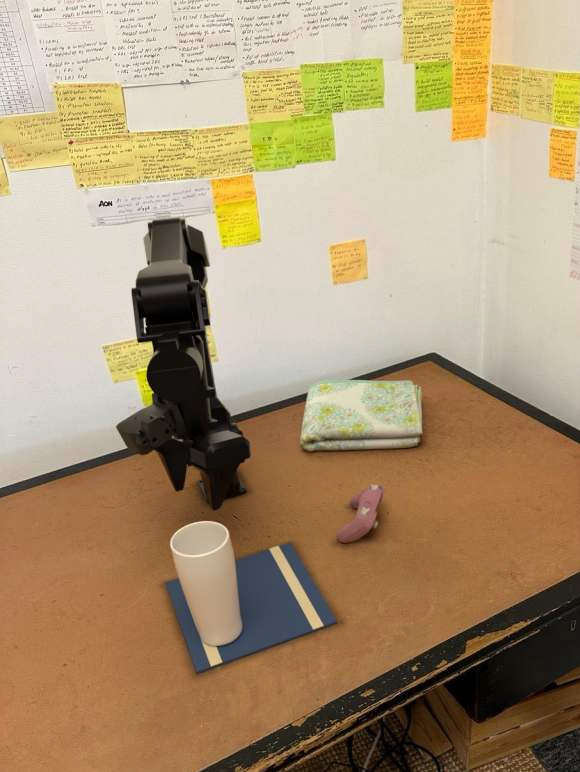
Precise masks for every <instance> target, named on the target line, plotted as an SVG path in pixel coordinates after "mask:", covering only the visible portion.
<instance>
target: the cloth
mask: <svg viewBox="0 0 580 772" xmlns="http://www.w3.org/2000/svg"><path fill="white" fill-rule="evenodd" d="M235 564H236V574H237V585H238V596H239V606H240V615H241V620H242V631H241V633H240V635H239V636H238V638H237V639H235V640H234V641H233V642H231V643H229V644H226V645H222V646H213V645H209V644H207V643H205V642H204V641H203V640H202V639H201V637H200V635H199V632H198V628H197V625H196V622H195V619H194V617H193V614H192V611H191V609H190V606H189V604H188V601H187V599H186V596H185V593H184V591H183V588H182V586H181V583H180V581H179V578H178V577H177V578H174V579H171V580H168V581H165V586H166V589H167V592H168V594H169V598H170V600H171V604H172V606H173V609H174V612H175V615H176V618H177V620H178V623H179V626H180V630H181V632H182V636H183V638H184V641H185V644H186V647H187V650H188V653H189V655H190V656H189V657H190V659H191V661H192V664H193V667H194V670H195V674H196V675H199V674H202V673H204V672H207V671H210V670H212V669H215V668H218V667H221V666H223V665H226V664H229V663H232V662H234V661H237V660H240V659H242V658H245V657H248V656H251V655H254V654H256V653H259V652H262V651H265V650H267V649H270V648H273V647H276V646H279V645H281V644H285V643H287V642H289V641H292V640H295V639H298V638H301V637H303V636H306V635H309V634H312V633H314V632H318V631H320V630H323V629H325V628H328V627H331V626H335V625H336V624H338V620H337V619H336V617H335V615H334V613H333V612H332V610H331V608H330V606H329V605H328V603H327V602H326V600H325V598H324V597H323V595H322V593H321V592H320V590H319V588H318V586H317V584H316V583H315V581H314V579H313V578H312V577H311V574H310V573H309V572H308V570H307V568H306V566H305V565H304V563H303V561H302V560H301V557H300V556H299V555H298V553H297V551H296V549H295V548H294V546H293V544H292V543H291V542H287V543H284V544H280V545H276V546H273V547H269V548H268V549H265V550H262V551H259V552H256V553H252V554H249V555H246V556H243V557H240V558H237V559H235Z"/></svg>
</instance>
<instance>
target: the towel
mask: <svg viewBox="0 0 580 772" xmlns="http://www.w3.org/2000/svg"><path fill="white" fill-rule="evenodd" d="M422 397H423V387H422V386H419V385H418V384H414V382H413V380H409V379H408V380H407V379H405V380H368V379H324V380H318V381H316V382H314V383H311V384H310V385H309V388H308V390H307V396H306V400H305V406H304V411H303V417H302V423H301V430H300V438H299V445H300V447H301V448H303V450H306V451H308V452H315V451H356V450H357V451H359V450H361V451H363V450H365V451H366V450H386V449H387V450H388V449H389V450H390V449H406V448H414V447H418V444H420V443H421V437H420V436H423V409H422V408H423V407H422V399H423V398H422Z"/></svg>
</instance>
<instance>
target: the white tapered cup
mask: <svg viewBox="0 0 580 772" xmlns="http://www.w3.org/2000/svg"><path fill="white" fill-rule="evenodd" d="M169 547H170V552H171V556H172V557H171V558H172V561H173V565H174V568H175V572H176V575H177V578H179V581H180V583H181V586H182V588H183V591H184V593H185V596H186V599H187V601H188V604H189V606H190V609H191V611H192V614H193V617H194V619H195V622H196V625H197V628H198V632H199V635H200V637H201V639H202V640H203V641H204V642H205V643H207V644H209V645H213V646H222V645H226V644H229V643H231V642H233V641H234V640H235V639H237V638H238V636H239V635H240V633H241V631H242V620H241V615H240V606H239V596H238V585H237V574H236V564H235V560H236V558H235V552H234V551H235V550H234V548H233V542H232V539H231V535H230V532H229V529H228V528H227V527H226V526H225V525H224V524H221V523H219V522H217V521H213V520H211V521H210V520H201V521H196V522H192V523H189V524H186V525H184V526H182V527H181V528H179V529H178V530H177V531H175V532H174V533H173V535H172V537H171V538H170V541H169Z"/></svg>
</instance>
